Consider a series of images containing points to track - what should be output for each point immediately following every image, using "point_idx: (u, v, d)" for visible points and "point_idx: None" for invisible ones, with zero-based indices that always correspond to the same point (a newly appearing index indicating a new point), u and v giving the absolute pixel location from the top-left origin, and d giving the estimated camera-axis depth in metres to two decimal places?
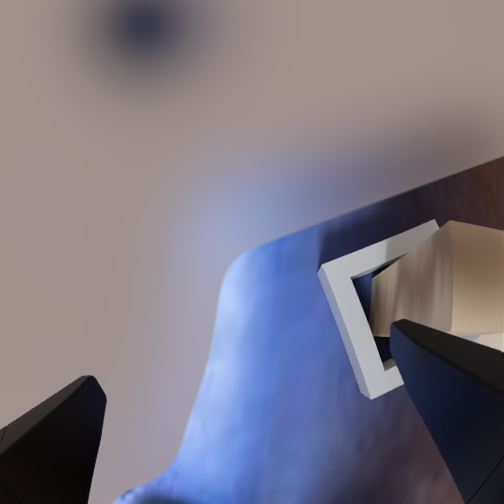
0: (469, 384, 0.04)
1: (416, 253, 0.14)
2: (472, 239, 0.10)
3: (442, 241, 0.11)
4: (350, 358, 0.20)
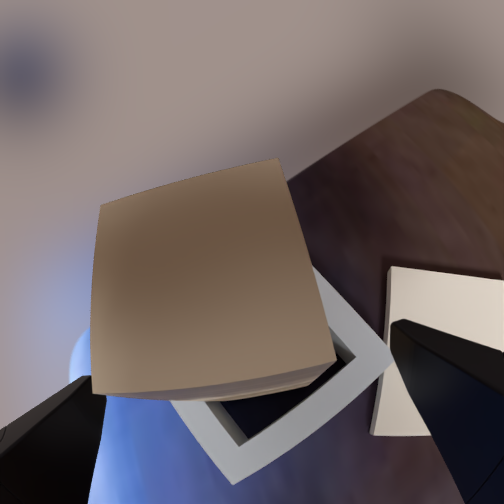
0: (469, 384, 0.04)
1: None
2: (139, 214, 0.06)
3: None
4: None
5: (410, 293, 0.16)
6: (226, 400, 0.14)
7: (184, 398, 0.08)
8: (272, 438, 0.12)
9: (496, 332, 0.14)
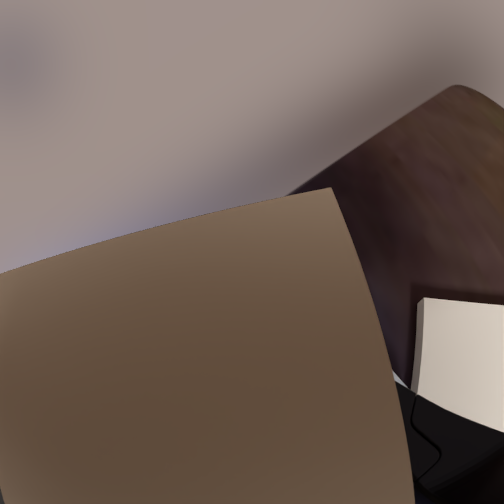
0: None
1: None
2: (39, 312, 0.03)
3: None
4: None
5: (445, 330, 0.12)
6: None
7: None
8: None
9: None
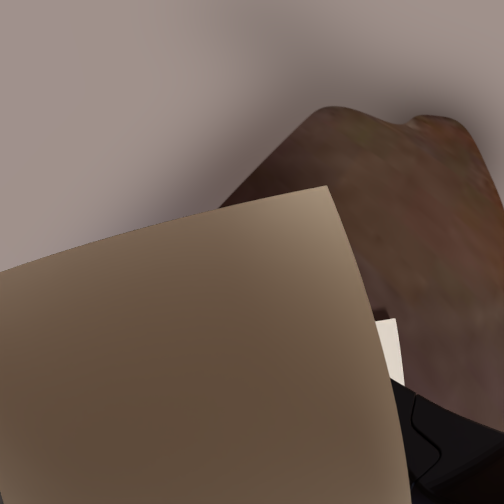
0: None
1: None
2: (38, 310, 0.03)
3: None
4: None
5: None
6: None
7: None
8: None
9: None
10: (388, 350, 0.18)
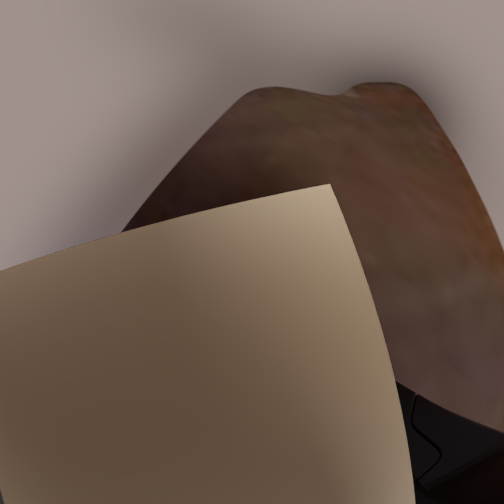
0: None
1: None
2: (39, 309, 0.03)
3: None
4: None
5: None
6: None
7: None
8: None
9: None
10: None
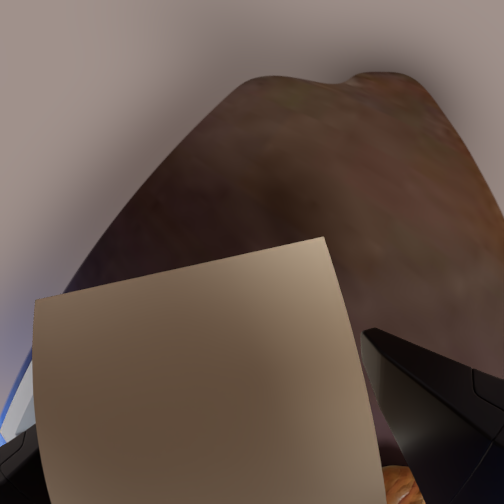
0: (431, 402, 0.04)
1: None
2: (86, 334, 0.03)
3: None
4: None
5: None
6: None
7: None
8: None
9: None
10: None
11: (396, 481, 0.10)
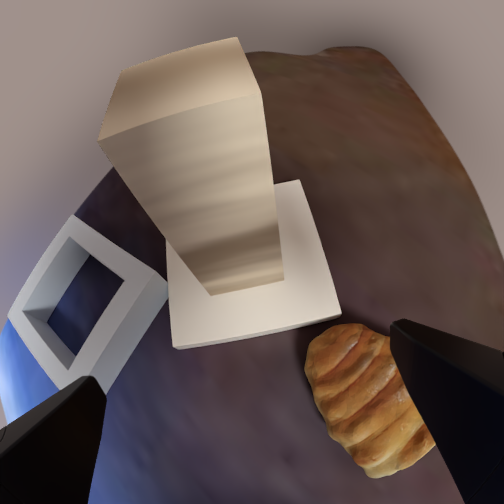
0: (469, 384, 0.04)
1: None
2: (148, 67, 0.09)
3: None
4: None
5: None
6: (206, 285, 0.16)
7: (162, 205, 0.10)
8: (84, 357, 0.15)
9: (284, 227, 0.19)
10: (294, 206, 0.20)
11: (343, 331, 0.15)
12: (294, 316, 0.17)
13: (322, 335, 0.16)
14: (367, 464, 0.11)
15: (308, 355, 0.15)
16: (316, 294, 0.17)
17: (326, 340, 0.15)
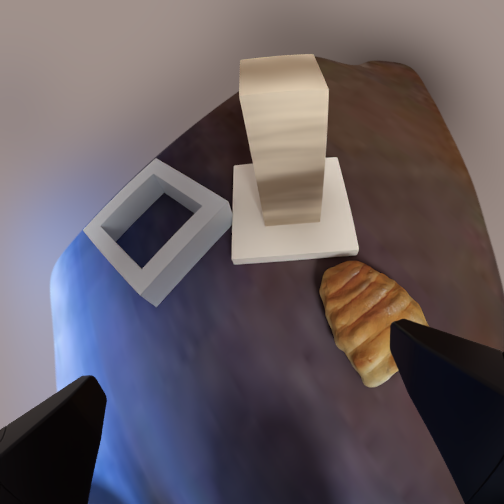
0: (469, 384, 0.04)
1: None
2: (259, 62, 0.15)
3: None
4: None
5: (247, 176, 0.27)
6: (265, 214, 0.23)
7: (260, 142, 0.16)
8: (159, 258, 0.22)
9: (323, 187, 0.26)
10: (331, 174, 0.26)
11: (349, 264, 0.21)
12: (324, 246, 0.23)
13: (333, 267, 0.22)
14: (365, 366, 0.17)
15: (323, 280, 0.21)
16: (342, 234, 0.23)
17: (336, 269, 0.21)
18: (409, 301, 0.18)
